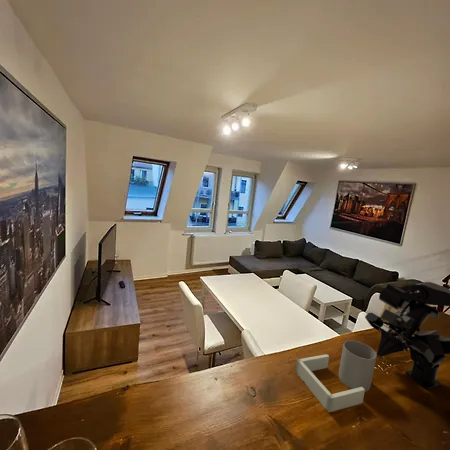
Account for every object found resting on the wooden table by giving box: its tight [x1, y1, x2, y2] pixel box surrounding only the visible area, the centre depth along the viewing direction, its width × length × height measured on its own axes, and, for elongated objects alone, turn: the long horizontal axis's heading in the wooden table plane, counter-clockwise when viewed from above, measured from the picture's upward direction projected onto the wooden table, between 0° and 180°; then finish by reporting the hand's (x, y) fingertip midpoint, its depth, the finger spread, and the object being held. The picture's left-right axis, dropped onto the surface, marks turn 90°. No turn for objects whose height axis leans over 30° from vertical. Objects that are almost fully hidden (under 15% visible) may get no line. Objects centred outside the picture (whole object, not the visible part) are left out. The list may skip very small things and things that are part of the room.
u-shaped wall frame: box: [295, 354, 366, 413], centre depth 69 cm, size 11×14×4 cm
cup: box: [338, 339, 378, 392], centre depth 72 cm, size 8×8×10 cm
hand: (378, 355), depth 75 cm, fingers closed
